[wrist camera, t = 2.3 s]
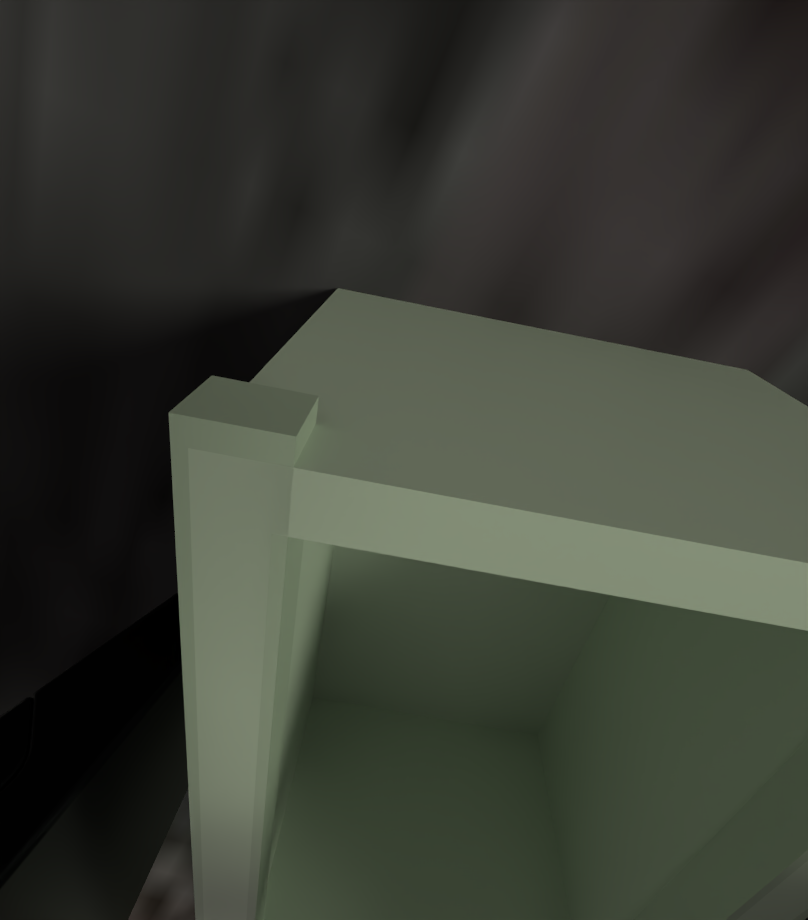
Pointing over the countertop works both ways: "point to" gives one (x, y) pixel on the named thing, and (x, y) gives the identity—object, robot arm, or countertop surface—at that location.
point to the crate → (492, 628)
